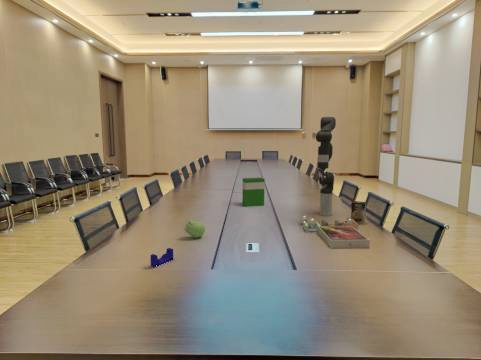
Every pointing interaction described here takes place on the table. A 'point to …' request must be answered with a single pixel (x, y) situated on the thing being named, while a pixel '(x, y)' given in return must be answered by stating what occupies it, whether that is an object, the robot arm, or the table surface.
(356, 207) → the coffee box
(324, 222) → the grey piece
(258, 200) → the hardback book
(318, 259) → the table surface
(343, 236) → the product packaging
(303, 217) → the cell
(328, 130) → the robot arm
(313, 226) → the cell
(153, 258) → the cable clip
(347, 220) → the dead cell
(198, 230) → the green round fruit
